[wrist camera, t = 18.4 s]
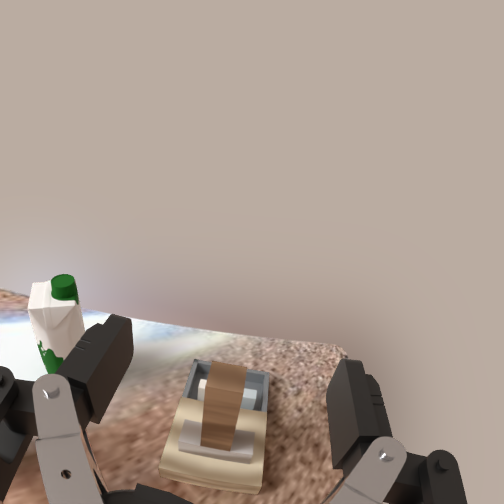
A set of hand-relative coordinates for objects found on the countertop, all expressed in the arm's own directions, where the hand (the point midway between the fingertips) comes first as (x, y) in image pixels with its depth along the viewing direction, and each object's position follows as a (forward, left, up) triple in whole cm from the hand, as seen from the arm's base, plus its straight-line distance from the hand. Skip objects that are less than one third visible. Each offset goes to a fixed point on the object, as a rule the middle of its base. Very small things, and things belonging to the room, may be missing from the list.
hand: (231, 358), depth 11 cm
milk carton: (-33, +19, -37) cm, 53 cm away
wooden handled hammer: (-3, +15, -33) cm, 37 cm away
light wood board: (-3, +17, -37) cm, 41 cm away
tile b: (-2, +26, -34) cm, 43 cm away
